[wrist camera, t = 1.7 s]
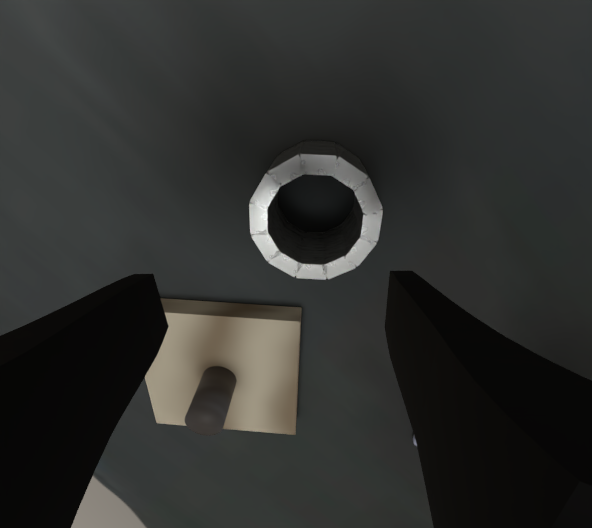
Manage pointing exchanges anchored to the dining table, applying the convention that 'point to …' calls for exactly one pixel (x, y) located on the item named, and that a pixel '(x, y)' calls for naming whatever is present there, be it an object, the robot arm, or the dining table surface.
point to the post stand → (227, 367)
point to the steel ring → (315, 245)
